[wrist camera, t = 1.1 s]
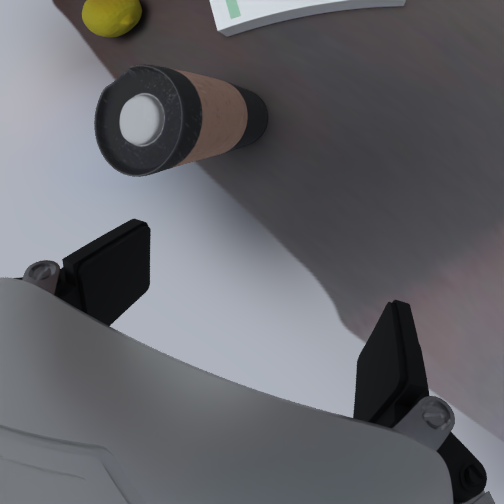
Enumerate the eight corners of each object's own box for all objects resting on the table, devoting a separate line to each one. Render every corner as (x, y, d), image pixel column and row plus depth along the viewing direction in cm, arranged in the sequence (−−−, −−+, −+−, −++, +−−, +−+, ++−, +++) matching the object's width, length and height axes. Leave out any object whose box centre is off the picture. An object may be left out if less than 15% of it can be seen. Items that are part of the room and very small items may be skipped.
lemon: (163, 12, 29) (127, -3, 22) (129, 52, 33) (91, 46, 26) (127, -15, 28) (93, -28, 21) (98, 21, 32) (63, 15, 25)
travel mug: (257, 157, 35) (166, 196, 18) (203, 136, 36) (85, 159, 18) (279, 99, 31) (202, 74, 14) (222, 80, 32) (107, 56, 15)
